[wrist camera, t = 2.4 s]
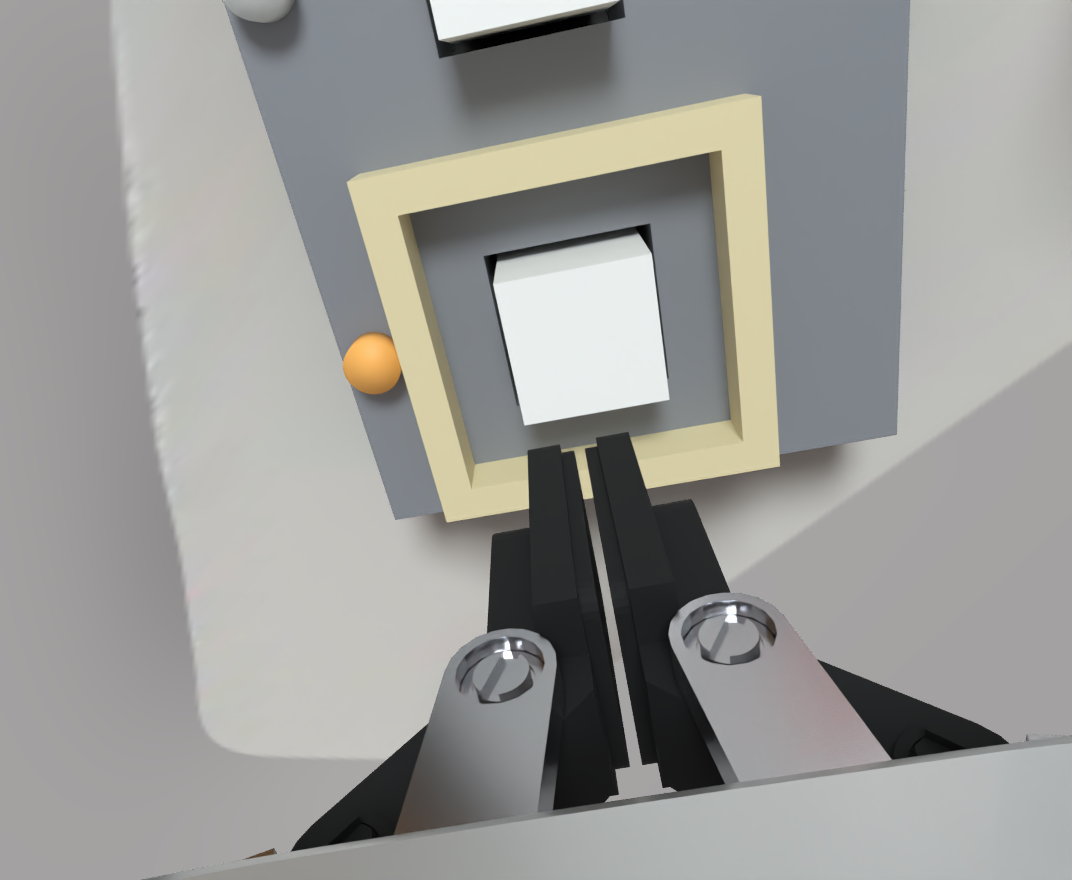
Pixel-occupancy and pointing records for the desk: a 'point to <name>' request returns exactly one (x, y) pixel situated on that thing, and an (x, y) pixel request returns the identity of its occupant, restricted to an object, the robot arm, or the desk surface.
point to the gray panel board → (598, 221)
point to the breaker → (504, 15)
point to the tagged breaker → (582, 325)
